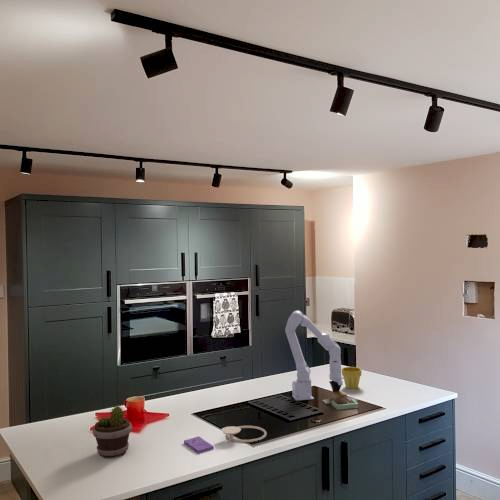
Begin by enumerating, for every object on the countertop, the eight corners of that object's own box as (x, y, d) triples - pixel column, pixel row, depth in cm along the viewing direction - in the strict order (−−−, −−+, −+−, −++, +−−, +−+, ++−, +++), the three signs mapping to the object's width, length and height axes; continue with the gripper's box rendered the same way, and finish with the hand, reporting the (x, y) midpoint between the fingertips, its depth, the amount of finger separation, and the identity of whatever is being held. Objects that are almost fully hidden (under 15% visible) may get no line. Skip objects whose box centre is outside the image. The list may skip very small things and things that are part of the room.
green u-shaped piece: (331, 410, 241) (331, 405, 241) (322, 401, 255) (321, 397, 255) (364, 407, 244) (363, 403, 244) (353, 398, 258) (352, 394, 258)
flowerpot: (85, 454, 198) (83, 402, 198) (121, 442, 209) (119, 393, 209) (104, 465, 188) (102, 410, 187) (140, 452, 198) (139, 400, 198)
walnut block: (335, 403, 251) (334, 395, 251) (331, 399, 257) (331, 391, 257) (346, 402, 252) (346, 394, 252) (343, 398, 258) (342, 391, 258)
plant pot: (363, 389, 273) (363, 371, 273) (344, 390, 273) (343, 371, 273) (359, 384, 283) (359, 366, 283) (340, 384, 284) (340, 366, 284)
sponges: (199, 440, 210) (198, 436, 210) (214, 450, 199) (214, 445, 199) (183, 444, 206) (183, 440, 206) (198, 454, 195) (198, 450, 195)
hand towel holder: (275, 425, 212) (236, 438, 199) (275, 435, 212) (236, 449, 199) (248, 415, 225) (210, 426, 212) (249, 425, 225) (210, 437, 212)
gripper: (348, 371, 252) (348, 399, 252) (338, 365, 266) (338, 391, 267) (334, 372, 251) (335, 400, 251) (325, 365, 265) (325, 392, 265)
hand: (336, 395), depth 259 cm, fingers closed
